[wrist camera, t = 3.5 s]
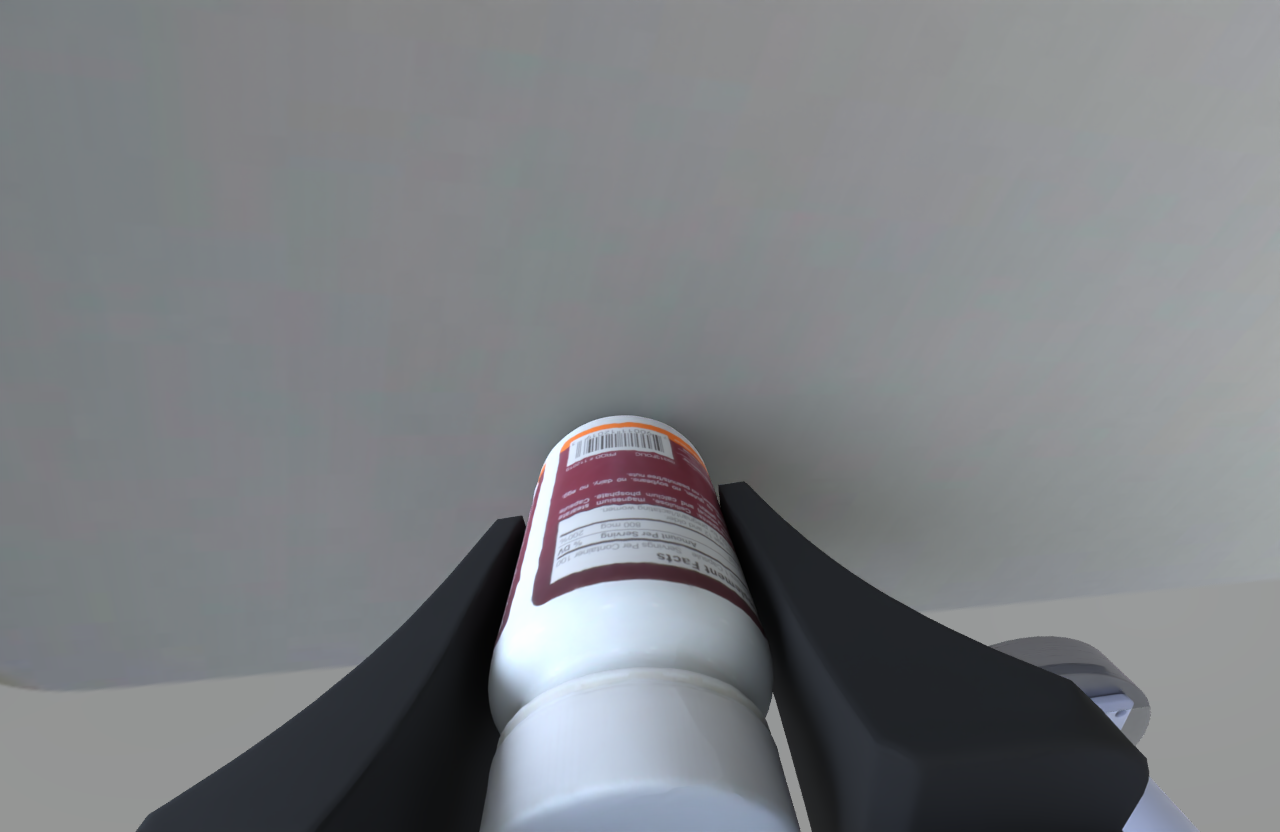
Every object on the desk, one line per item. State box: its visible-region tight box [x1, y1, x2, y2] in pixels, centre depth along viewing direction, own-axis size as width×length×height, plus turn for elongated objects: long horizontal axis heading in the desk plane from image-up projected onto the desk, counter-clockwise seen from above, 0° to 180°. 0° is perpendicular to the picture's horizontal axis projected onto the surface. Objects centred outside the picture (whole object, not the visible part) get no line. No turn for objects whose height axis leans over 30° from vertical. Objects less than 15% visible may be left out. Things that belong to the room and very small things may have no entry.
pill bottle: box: [479, 415, 800, 832], centre depth 9 cm, size 5×5×8 cm
